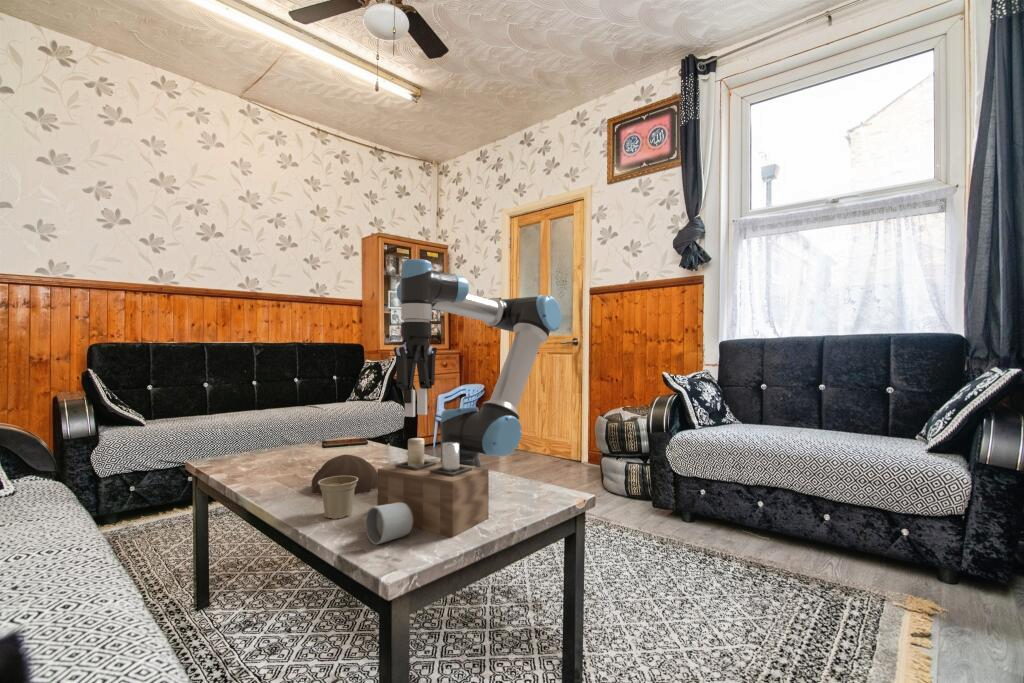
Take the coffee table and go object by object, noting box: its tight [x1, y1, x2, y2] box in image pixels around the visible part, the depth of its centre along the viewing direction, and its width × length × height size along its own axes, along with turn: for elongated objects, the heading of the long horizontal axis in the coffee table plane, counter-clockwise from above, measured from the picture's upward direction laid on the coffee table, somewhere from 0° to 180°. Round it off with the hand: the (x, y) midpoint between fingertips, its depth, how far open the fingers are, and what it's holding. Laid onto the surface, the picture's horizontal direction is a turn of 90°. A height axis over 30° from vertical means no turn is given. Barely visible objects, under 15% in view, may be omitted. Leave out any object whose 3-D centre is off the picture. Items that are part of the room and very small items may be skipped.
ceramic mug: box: [365, 503, 414, 546], centre depth 105 cm, size 11×8×8 cm
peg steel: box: [442, 442, 459, 473], centre depth 114 cm, size 4×4×11 cm
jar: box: [459, 455, 475, 467], centre depth 129 cm, size 9×8×12 cm
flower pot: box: [318, 476, 358, 520], centre depth 119 cm, size 9×9×9 cm
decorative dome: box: [311, 454, 378, 495], centre depth 145 cm, size 19×20×10 cm
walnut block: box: [376, 458, 490, 538], centre depth 117 cm, size 14×23×13 cm, turn 59°
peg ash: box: [407, 437, 425, 467], centre depth 120 cm, size 4×4×11 cm
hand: (416, 415), depth 120 cm, fingers open, 4 cm apart
